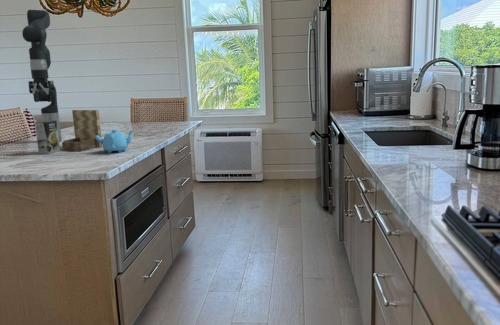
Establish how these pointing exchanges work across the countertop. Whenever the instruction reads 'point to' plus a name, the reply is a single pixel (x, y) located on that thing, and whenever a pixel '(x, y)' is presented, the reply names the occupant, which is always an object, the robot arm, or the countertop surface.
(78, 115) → the wall board
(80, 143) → the brown open box
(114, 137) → the teapot
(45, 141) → the coffee box
